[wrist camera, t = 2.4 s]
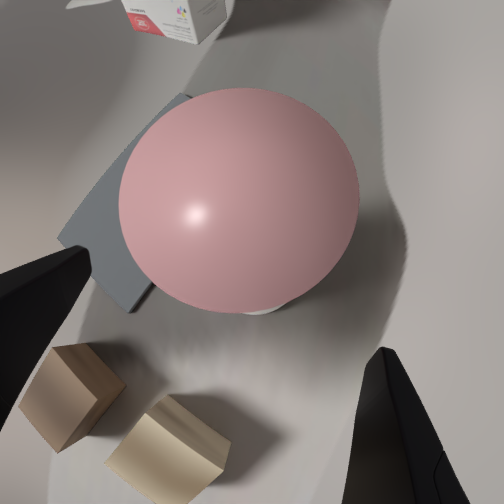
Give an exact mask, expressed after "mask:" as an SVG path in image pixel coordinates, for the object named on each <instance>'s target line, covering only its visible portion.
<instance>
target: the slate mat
mask: <svg viewBox="0 0 504 504" xmlns="http://www.w3.org/2000/svg"><path fill="white" fill-rule="evenodd" d="M190 99H191V98H189V97H188V96H186V95H184V94H182V93H179V94H178V95H177V96H176V97H175V98H174V99H173V100H172V101H171V102H170V103H169V104H168V105H167V106H166V107H165V108H163V110H162V111H160V112H159V113H158V115H157V116H156V117H155V118H154V119H153V120H152V121H151V122H150V123H149V124H148V125H147V126H146V127H145V128H144V129H143V130H142V131H141V132H140V133H139V134H138V135H137V137H136V138H135V139H134V140H133V141H132V142H131V143H130V144H129V145H128V146H127V148H126V149H125V150H124V151H123V152H122V153H121V154H120V156H119V157H118V158H117V159H116V160H115V161H114V163H113V164H112V165H111V166H110V167H109V169H108V170H107V171H106V172H105V173H104V175H103V176H102V177H101V178H100V180H99V181H98V182H97V183H96V185H95V186H94V187H93V189H92V190H91V191H90V192H89V194H88V195H87V196H86V198H85V199H84V200H83V202H82V203H81V204H80V206H79V207H78V208H77V210H76V211H75V213H74V214H73V215H72V217H71V218H70V220H69V221H68V222H67V224H66V225H65V227H64V228H63V230H62V231H61V233H60V234H59V236H58V237H57V239H58V240H59V241H60V242H61V243H62V245H63V246H64V247H65V248H66V249H67V248H69V247H72V246H75V245H80V246H83V247H85V248H87V249H88V250H89V253H90V259H91V265H92V273H91V277H92V278H93V279H94V280H95V281H96V282H97V283H98V284H99V285H100V286H101V287H102V288H103V289H104V290H105V291H106V292H107V293H108V294H109V295H110V296H111V297H112V298H113V299H114V300H115V301H116V302H117V303H118V304H119V305H120V306H121V307H122V308H123V309H124V310H125V311H126V312H127V313H131V312H132V310H133V309H134V308H135V306H136V305H137V304H138V302H139V301H140V300H141V298H142V297H143V296H144V294H145V293H146V292H147V290H148V289H149V288H150V286H151V285H152V284H153V282H152V281H151V280H150V279H149V278H148V277H147V276H146V275H145V274H144V273H143V271H142V270H141V269H140V267H139V266H138V264H137V263H136V262H135V260H134V259H133V257H132V255H131V253H130V251H129V249H128V247H127V245H126V242H125V239H124V236H123V233H122V229H121V224H120V219H119V191H120V185H121V181H122V176H123V173H124V170H125V167H126V164H127V162H128V160H129V158H130V156H131V154H132V152H133V150H134V148H135V147H136V145H137V144H138V142H139V141H140V139H141V138H142V136H143V135H144V134H145V133H146V132H147V131H148V129H149V128H150V127H151V126H152V125H153V124H154V123H155V122H156V121H157V120H159V119H160V118H161V117H162V116H163V115H165V114H166V113H167V112H169V111H170V110H171V109H173V108H175V107H176V106H178V105H180V104H182V103H183V102H185V101H188V100H190Z"/></svg>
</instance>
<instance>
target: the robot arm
mask: <svg viewBox="0 0 504 504" xmlns="http://www.w3.org/2000/svg"><path fill="white" fill-rule="evenodd" d="M91 273H92V265H91V259H90V253H89V250H88V249H87V248H85V247H83V246H80V245H75V246H72V247H69V248H67V249H64V250H61V251H59V252H56V253H53V254H50V255H48V256H45V257H42V258H40V259H37V260H35V261H32V262H30V263H27V264H24V265H22V266H19V267H17V268H14V269H12V270H9V271H7V272H4V273H2V274H0V431H1V429H2V427H3V425H4V423H5V421H6V419H7V417H8V415H9V413H10V411H11V409H12V407H13V405H14V403H15V401H16V399H17V398H18V395H19V394H20V392H21V390H22V388H23V387H24V385H25V383H26V381H27V380H28V378H29V376H30V374H31V373H32V371H33V369H34V368H35V366H36V364H37V363H38V361H39V359H40V358H41V356H42V354H43V353H44V351H45V350H46V348H47V346H48V345H49V343H50V341H51V340H52V339H53V337H54V335H55V334H56V332H57V331H58V329H59V327H60V326H61V325H62V323H63V322H64V320H65V319H66V317H67V316H68V314H69V312H70V311H71V309H72V307H73V306H74V304H75V302H76V300H77V298H78V297H79V295H80V293H81V291H82V289H83V288H84V286H85V284H86V283H87V281H88V279H89V278H90V276H91ZM342 504H470V502H469V500H468V498H467V496H466V494H465V492H464V491H463V489H462V487H461V485H460V483H459V481H458V479H457V477H456V475H455V473H454V470H453V468H452V466H451V464H450V462H449V460H448V458H447V455H446V453H445V451H444V450H443V446H442V444H441V442H440V440H439V438H438V436H437V433H436V431H435V429H434V427H433V425H432V423H431V421H430V418H429V416H428V414H427V412H426V410H425V408H424V406H423V404H422V402H421V400H420V398H419V396H418V394H417V392H416V390H415V388H414V386H413V384H412V382H411V380H410V378H409V376H408V375H407V373H406V371H405V369H404V367H403V365H402V364H401V361H400V360H399V358H398V356H397V354H396V352H395V351H394V350H393V349H390V348H386V347H380V348H379V349H378V350H377V351H376V353H375V354H374V355H373V356H372V358H371V359H370V360H369V361H368V363H367V365H366V367H365V371H364V376H363V382H362V387H361V392H360V396H359V401H358V406H357V410H356V416H355V423H354V431H353V439H352V446H351V453H350V460H349V466H348V472H347V478H346V483H345V489H344V494H343V500H342Z"/></svg>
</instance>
